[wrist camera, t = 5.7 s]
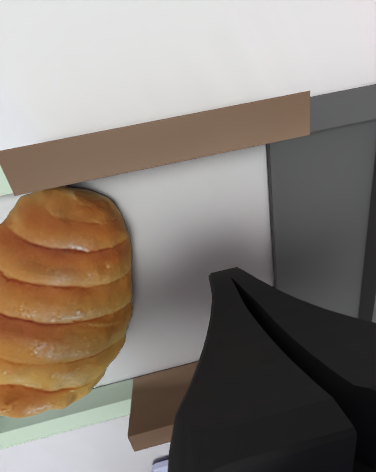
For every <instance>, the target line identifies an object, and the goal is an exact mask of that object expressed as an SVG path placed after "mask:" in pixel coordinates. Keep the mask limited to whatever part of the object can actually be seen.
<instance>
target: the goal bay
mask: <svg viewBox="0 0 376 472" xmlns="http://www.w3.org/2000/svg"><path fill="white" fill-rule="evenodd" d="M12 193H13V191H12V189H11V187H10V185H9V183H8V181H7V179H6V176H5V174H4V172H3V170H2V168H1V166H0V196H2V195H7V194H12ZM132 388H133V379H129V380H125V381H121V382H117V383H114V384H110V385H106V386H102V387H98V388H94V389H92V390H91V392H90V393H88V394H87V395H85V396H84V397H82V398H81V399H79V400H77V401H76V402H74V403H72V404H70V405H69V406H68V407H66V408H64V409H61V410H58V409H53V410H47V411H45V412H42V413H40V414H37V415H34V416H30V417H26V418H10V417H6V416H1V415H0V450H1V449H4V448H8V447H12V446H16V445H19V444H23V443H27V442H30V441H34V440H38V439H42V438H45V437H49V436H53V435H56V434H60V433H64V432H67V431H71V430H75V429H79V428H82V427H86V426H90V425H93V424H97V423H101V422H105V421H108V420H112V419H116V418H119V417H123V416H127V415H130V408H131V398H132Z"/></svg>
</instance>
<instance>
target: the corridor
mask: <svg viewBox="0 0 376 472" xmlns="http://www.w3.org/2000/svg"><path fill="white" fill-rule="evenodd" d="M307 135H310V91H306V92H301V93H296V94H291V95H286V96H281V97H275V98H270V99H265V100H260V101H255V102H250V103H244V104H239V105H234V106H229V107H224V108H219V109H214V110H208V111H203V112H198V113H193V114H188V115H183V116H177V117H172V118H167V119H162V120H157V121H152V122H147V123H141V124H136V125H131V126H126V127H121V128H116V129H110V130H105V131H100V132H95V133H90V134H85V135H80V136H74V137H69V138H64V139H59V140H54V141H49V142H43V143H38V144H33V145H28V146H23V147H18V148H13V149H7V150H2V151H0V166H1V168H2V170H3V172H4V174H5V176H6V179H7V181H8V183H9V185H10V187H11V189H12V191H13V193H14V196H16V195H21V194H26V193H31V192H36V191H40V190H45V189H50V188H55V187H60V186H65V185H69V184H74V183H79V182H84V181H89V180H94V179H99V178H103V177H108V176H113V175H118V174H123V173H128V172H132V171H137V170H142V169H147V168H152V167H157V166H162V165H166V164H171V163H176V162H181V161H186V160H191V159H196V158H200V157H205V156H210V155H215V154H220V153H225V152H229V151H234V150H239V149H244V148H249V147H254V146H259V145H263V144H268V143H273V142H278V141H283V140H288V139H293V138H297V137H302V136H307ZM198 362H199V361H198ZM198 362H194V363H190V364H186V365H183V366H179V367H175V368H171V369H167V370H163V371H160V372H156V373H152V374H148V375H144V376H140V377H137V378H133V388H132V398H131V408H130V419H129V429H128V439H129V441H130V443H131V445H132V447H133V449H134V451H139V450H142V449H146V448H149V447H153V446H157V445H160V444H164V443H167V442H171V437H172V431H173V426H174V420H175V415H176V412H177V410H178V408H179V406H180V404H181V402H182V400H183V397H184V395H185V393H186V391H187V389H188V387H189V385H190V382H191V380H192V378H193V375H194V372H195V370H196V367H197V365H198Z"/></svg>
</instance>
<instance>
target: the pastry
mask: <svg viewBox="0 0 376 472" xmlns="http://www.w3.org/2000/svg"><path fill="white" fill-rule="evenodd" d="M131 263H132V256H131V242H130V237H129V233H128V231H127V228H126V226H125V223H124V220H123V217H122V215H121V213H120V211H119V210H118V208H117V207H116V205H115V204H114V203H113V202H112V201H111V200H110V199H109V198H108V197H105V196H103V195H100V194H98V193H96V192H94V191H90V190H87V189H81V188H71V187H66V186H60V187H55V188H50V189H45V190H40V191H36V192H33V193H31V194H27V195H24V196H22V197H21V198H20V199H19V200H18V201H17V203H16V205H15V206H14V208H13V209H12V210H11V212H10V213H9V215H8V216H7V218H6V219H5V220H4V221H3V223H1V224H0V415H1V416H6V417H10V418H26V417H30V416H34V415H37V414H40V413H42V412H45V411H47V410H53V409H58V410H61V409H64V408H66V407H68V406H69V405H70V404H72V403H74V402H76V401H77V400H79V399H81V398H82V397H84V396H85V395H87V394H88V393H90V392H91V390H92V389H93V387H94V386H95V385H96V384H97V383H98V382H99V381H100V379H101V378H102V377H103V376H104V374H105V371H106V369H107V367H108V366H109V364H110V363H111V362H112V361H113V360H114V359H115V358H116V356H117V355H118V353H119V351H120V350H121V348H122V347H123V345H124V343H125V337H126V330H127V328H128V323H129V321H130V318H131V316H132V310H133V306H132V285H131V271H132V268H131Z"/></svg>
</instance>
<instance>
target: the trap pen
mask: <svg viewBox="0 0 376 472" xmlns="http://www.w3.org/2000/svg"><path fill="white" fill-rule="evenodd" d="M266 146H267V163H268V180H269V198H270V215H271V232H272V249H273V267H274V284H275V288H276V289H278V290H280V291H282V292H284V293H286V294H289V295H291V296H293V297H295V298H298V299H300V300H303V301H305V302H308V303H311V304H313V305H316V306H319V307H321V308H324V309H328V310H331V311H334V312H337V313H341V314H344V315H347V316H351V317H354V318H358V319H362V320H366V321H370V322H374V323H376V84H374V85H369V86H364V87H359V88H354V89H349V90H344V91H339V92H333V93H328V94H323V95H318V96H313V97H310V135H307V136H302V137H297V138H293V139H288V140H283V141H278V142H273V143H268V144H266Z"/></svg>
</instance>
